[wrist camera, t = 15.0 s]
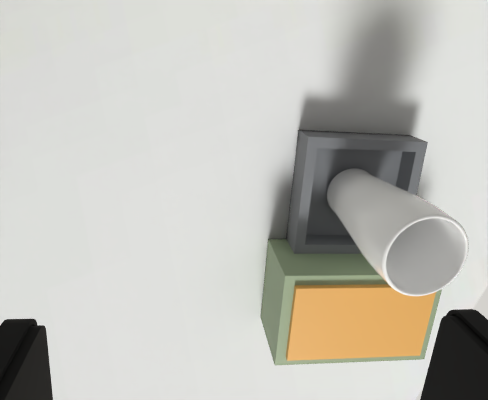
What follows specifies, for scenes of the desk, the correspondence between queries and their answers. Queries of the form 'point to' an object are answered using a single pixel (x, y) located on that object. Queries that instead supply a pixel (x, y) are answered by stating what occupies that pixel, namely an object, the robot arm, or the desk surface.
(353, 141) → the green box with frame
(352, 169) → the drinking glass
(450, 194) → the desk surface
